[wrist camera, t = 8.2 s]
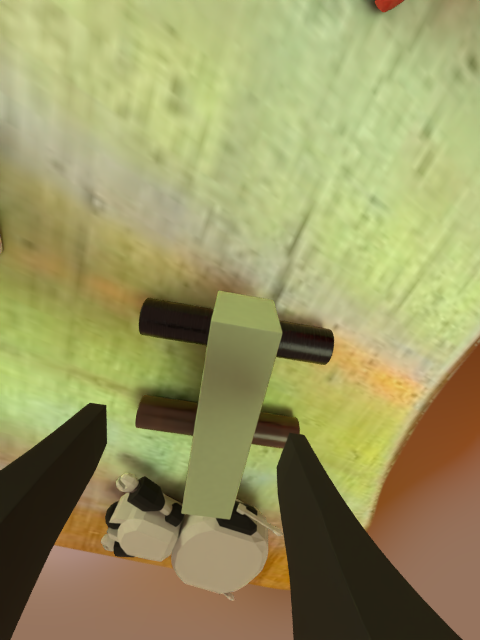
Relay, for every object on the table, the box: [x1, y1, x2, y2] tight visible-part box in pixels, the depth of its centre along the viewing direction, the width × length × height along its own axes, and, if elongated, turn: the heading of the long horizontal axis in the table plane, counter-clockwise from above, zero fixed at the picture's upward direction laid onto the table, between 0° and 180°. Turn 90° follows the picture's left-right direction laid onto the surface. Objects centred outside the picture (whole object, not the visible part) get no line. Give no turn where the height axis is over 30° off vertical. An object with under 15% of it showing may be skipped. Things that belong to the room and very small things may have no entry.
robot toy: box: [101, 473, 283, 600], centre depth 26 cm, size 12×4×15 cm
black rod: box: [139, 298, 334, 365], centre depth 18 cm, size 12×2×2 cm, turn 80°
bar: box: [181, 291, 282, 519], centre depth 17 cm, size 14×3×4 cm, turn 170°
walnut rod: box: [136, 395, 300, 449], centre depth 22 cm, size 12×2×2 cm, turn 80°
